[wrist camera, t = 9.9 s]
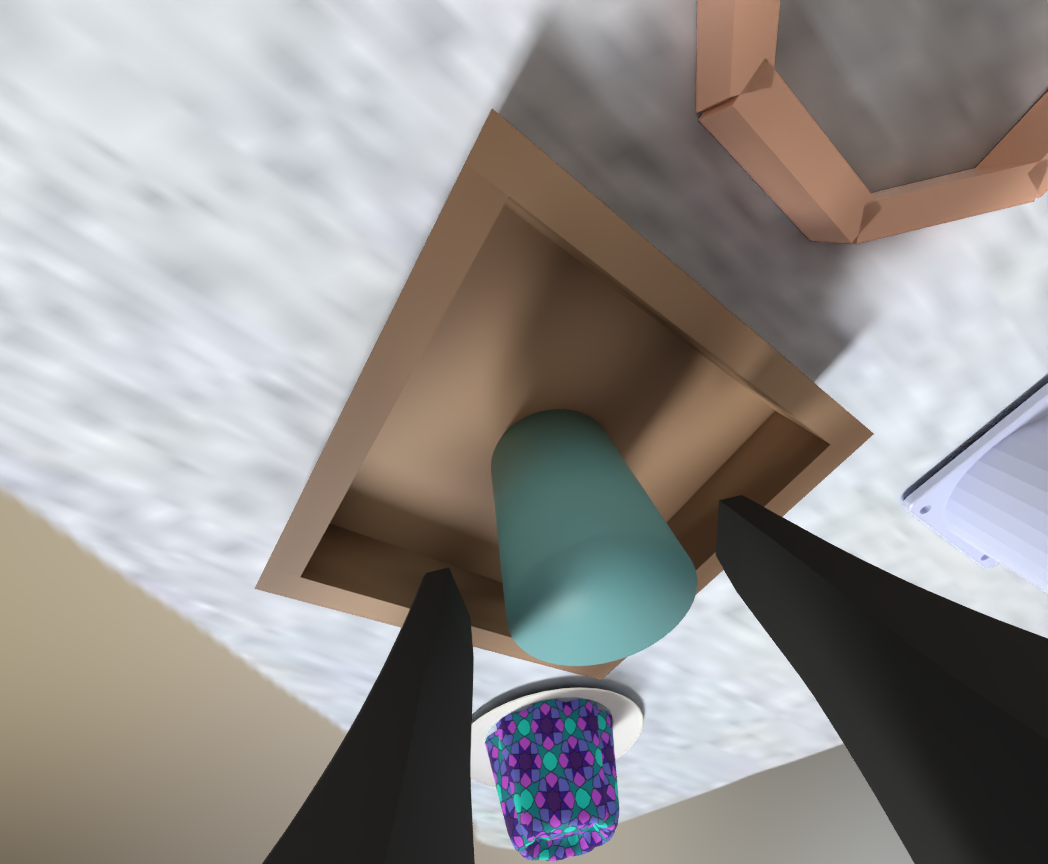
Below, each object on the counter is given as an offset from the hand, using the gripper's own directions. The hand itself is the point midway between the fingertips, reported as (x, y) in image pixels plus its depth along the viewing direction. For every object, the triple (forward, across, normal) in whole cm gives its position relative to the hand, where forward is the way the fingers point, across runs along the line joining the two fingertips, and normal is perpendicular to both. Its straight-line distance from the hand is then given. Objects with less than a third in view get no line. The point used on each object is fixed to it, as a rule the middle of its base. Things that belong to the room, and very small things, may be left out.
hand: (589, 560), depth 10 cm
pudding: (+6, +4, +21) cm, 22 cm away
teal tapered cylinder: (+4, 0, 0) cm, 5 cm away
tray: (+5, 0, 0) cm, 5 cm away
